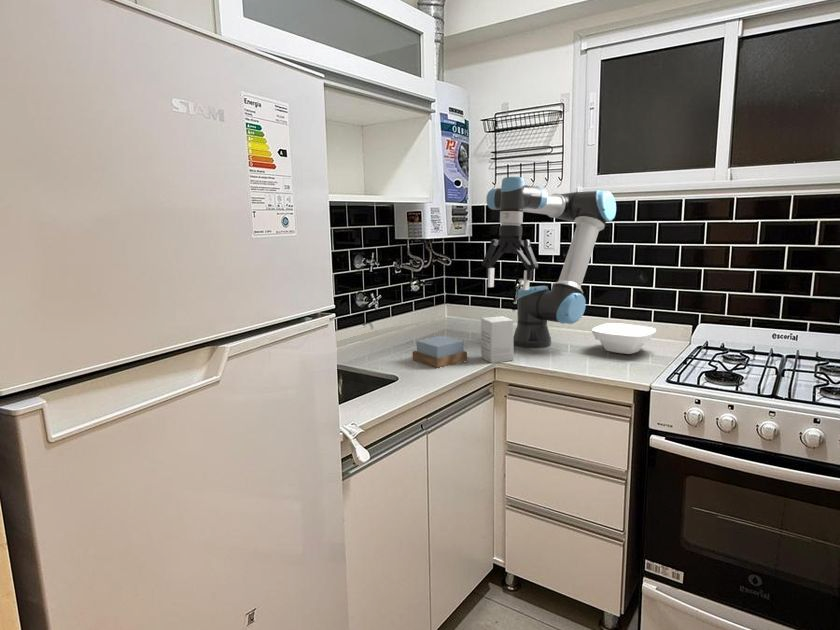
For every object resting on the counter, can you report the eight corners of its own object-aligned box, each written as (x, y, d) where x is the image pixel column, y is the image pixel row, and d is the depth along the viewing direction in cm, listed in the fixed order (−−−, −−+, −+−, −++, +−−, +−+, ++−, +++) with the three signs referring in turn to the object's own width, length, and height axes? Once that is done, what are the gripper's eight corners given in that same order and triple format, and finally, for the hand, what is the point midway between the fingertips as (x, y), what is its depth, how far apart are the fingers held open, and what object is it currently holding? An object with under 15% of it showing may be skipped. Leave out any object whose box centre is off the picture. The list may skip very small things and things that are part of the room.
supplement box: (502, 354, 199) (502, 315, 196) (514, 360, 190) (514, 319, 188) (480, 357, 196) (480, 317, 193) (490, 363, 188) (490, 321, 185)
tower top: (442, 346, 200) (442, 335, 199) (463, 352, 190) (463, 341, 190) (416, 351, 193) (416, 340, 192) (437, 358, 183) (437, 346, 183)
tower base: (442, 355, 202) (442, 345, 202) (467, 362, 191) (467, 351, 191) (412, 362, 194) (412, 351, 193) (436, 370, 183) (436, 358, 182)
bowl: (607, 342, 214) (608, 321, 212) (661, 350, 200) (662, 328, 198) (584, 352, 199) (584, 330, 197) (639, 362, 185) (641, 338, 183)
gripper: (473, 224, 182) (471, 286, 185) (540, 224, 167) (536, 292, 170) (484, 225, 188) (482, 285, 191) (550, 225, 173) (547, 290, 176)
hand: (508, 288), depth 180 cm, fingers open, 13 cm apart
